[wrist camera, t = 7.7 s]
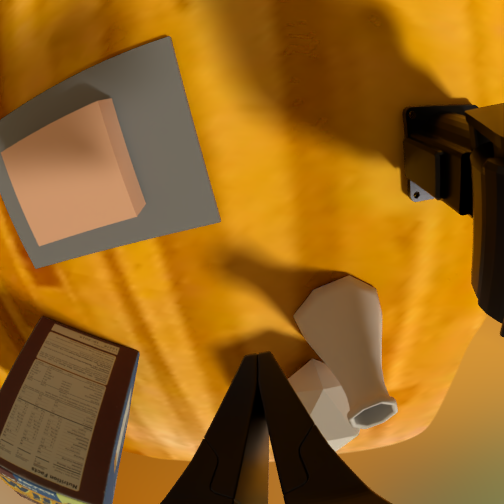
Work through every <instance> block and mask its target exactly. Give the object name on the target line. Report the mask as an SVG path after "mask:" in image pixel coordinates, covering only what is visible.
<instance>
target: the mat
mask: <svg viewBox="0 0 504 504" xmlns="http://www.w3.org/2000/svg"><path fill="white" fill-rule="evenodd" d="M110 98H112V100H113V104H114V107H115V111H116V114H117V118H118V121H119V124H120V127H121V131H122V134H123V137H124V140H125V143H126V147H127V150H128V153H129V156H130V159H131V162H132V165H133V168H134V171H135V174H136V177H137V180H138V182H139V185H140V188H141V191H142V194H143V197H144V199H145V202H146V205H145V206H144V207H143V209H142V210H141V212H140V213H139V214H138V216H137V217H134V218H131V219H127V220H123V221H120V222H116V223H113V224H110V225H106V226H103V227H99V228H96V229H93V230H89V231H86V232H83V233H80V234H76V235H73V236H70V237H67V238H64V239H61V240H57V241H54V242H51V243H48V244H45V245H42V246H39V245H38V243H37V241H36V239H35V237H34V235H33V232H32V230H31V228H30V226H29V224H28V222H27V219H26V217H25V215H24V213H23V210H22V208H21V205H20V203H19V201H18V198H17V196H16V193H15V191H14V188H13V186H12V183H11V180H10V178H9V175H8V172H7V169H6V166H5V164H4V161H3V158H2V155H1V152H3V151H4V150H6V149H7V148H9V147H10V146H12V145H14V144H15V143H17V142H19V141H20V140H22V139H24V138H25V137H27V136H29V135H31V134H32V133H34V132H36V131H38V130H39V129H41V128H43V127H45V126H47V125H49V124H50V123H52V122H54V121H56V120H58V119H60V118H62V117H64V116H66V115H68V114H70V113H72V112H74V111H76V110H78V109H81V108H83V107H85V106H87V105H89V104H91V103H94V102H96V101H99V100H104V99H110ZM0 194H1V196H2V199H3V201H4V203H5V206H6V208H7V211H8V213H9V215H10V218H11V220H12V222H13V224H14V226H15V229H16V231H17V233H18V235H19V237H20V239H21V241H22V243H23V245H24V247H25V249H26V251H27V253H28V255H29V257H30V259H31V261H32V263H33V265H34V267H35V269H37V268H40V267H44V266H47V265H51V264H55V263H58V262H62V261H66V260H69V259H73V258H77V257H80V256H84V255H88V254H92V253H95V252H99V251H103V250H107V249H111V248H115V247H119V246H123V245H127V244H131V243H135V242H139V241H143V240H147V239H151V238H155V237H159V236H163V235H167V234H171V233H176V232H180V231H184V230H188V229H193V228H197V227H201V226H206V225H210V224H214V223H219V222H221V219H220V215H219V212H218V208H217V205H216V201H215V198H214V194H213V191H212V187H211V184H210V180H209V177H208V173H207V170H206V166H205V163H204V159H203V155H202V152H201V148H200V145H199V141H198V137H197V134H196V130H195V127H194V123H193V119H192V116H191V112H190V108H189V105H188V101H187V97H186V93H185V90H184V86H183V82H182V78H181V75H180V71H179V67H178V63H177V59H176V56H175V52H174V48H173V44H172V40H171V37H170V36H168V37H165V38H162V39H159V40H156V41H154V42H151V43H148V44H145V45H142V46H140V47H137V48H135V49H132V50H129V51H127V52H124V53H122V54H120V55H117V56H115V57H112V58H110V59H108V60H105V61H103V62H101V63H99V64H97V65H94V66H92V67H90V68H88V69H86V70H84V71H82V72H80V73H78V74H76V75H74V76H72V77H70V78H68V79H66V80H64V81H63V82H61V83H59V84H57V85H55V86H53V87H52V88H50V89H48V90H46V91H45V92H43V93H41V94H40V95H38V96H36V97H35V98H33V99H31V100H30V101H28V102H26V103H25V104H23V105H22V106H20V107H19V108H17V109H16V110H14V111H13V112H11V113H10V114H8V115H7V116H5V117H4V118H2V119H1V120H0Z"/></svg>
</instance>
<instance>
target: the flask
mask: <svg viewBox="0 0 504 504" xmlns="http://www.w3.org/2000/svg"><path fill="white" fill-rule="evenodd" d="M293 317H294V319H295V321H296V323H297V325H298V327H299V329H300V331H301V333H302V335H303V337H304V339H305V340H306V341H307V342H308V344H309V345H310V346H311V347H312V349H313V350H314V351H315V352H316V353H317V354H318V356H319V357H320V358H321V359H322V360H323V361H324V363H325V364H326V365H327V367H328V368H329V369H330V370H331V372H332V373H333V374H334V376H335V377H336V378H337V380H338V381H339V382H340V384H341V386H342V388H343V390H344V392H345V394H346V396H347V400H348V403H349V407H350V411H349V412H348V413H347V418H348V421H349V423H350V425H351V427H352V428H360V429H367V428H370V427H373V426H375V425H378V424H381V423H383V422H385V421H386V420H388V419H389V418H390V417H392V416H393V415H394V414H396V413H397V412H398V410H397V403H396V400H395V399H394V398H393V397H390V396H389V394H388V392H387V389H386V387H385V384H384V379H383V373H382V311H381V307H380V303H379V299H378V294H377V290H376V288H374V287H372V286H370V285H368V284H366V283H364V282H362V281H360V280H358V279H356V278H354V277H352V276H350V275H348V276H346V277H343V278H341V279H339V280H336V281H334V282H331V283H329V284H326V285H324V286H321V287H319V288H316V289H314V290H313V291H312V292H311V294H310V295H309V296H308V297H307V299H306V300H305V301H304V303H303V304H302V305H301V306H300V308H299V309H298V310H297V311H296V313H295V314H294V315H293Z"/></svg>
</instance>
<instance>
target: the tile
mask: <svg viewBox="0 0 504 504" xmlns="http://www.w3.org/2000/svg"><path fill="white" fill-rule="evenodd" d="M1 155H2V158H3V161H4V164H5V166H6V169H7V172H8V175H9V178H10V180H11V183H12V186H13V188H14V191H15V193H16V196H17V198H18V201H19V203H20V205H21V208H22V210H23V213H24V215H25V217H26V219H27V222H28V224H29V226H30V228H31V230H32V232H33V235H34V237H35V239H36V241H37V243H38V245H39V246H42V245H45V244H48V243H51V242H54V241H57V240H61V239H64V238H67V237H70V236H73V235H76V234H80V233H83V232H86V231H89V230H93V229H96V228H99V227H103V226H106V225H110V224H113V223H116V222H120V221H123V220H127V219H131V218H134V217H137V216H138V214H139V213H140V212H141V210H142V209H143V207H144V206H145V205H146V202H145V199H144V197H143V194H142V191H141V188H140V185H139V182H138V180H137V177H136V174H135V171H134V168H133V165H132V162H131V159H130V156H129V153H128V150H127V147H126V143H125V140H124V137H123V134H122V131H121V127H120V124H119V121H118V118H117V114H116V111H115V107H114V104H113V100H112V98H110V99H104V100H99V101H96V102H94V103H91V104H89V105H87V106H85V107H83V108H81V109H78V110H76V111H74V112H72V113H70V114H68V115H66V116H64V117H62V118H60V119H58V120H56V121H54V122H52V123H50V124H49V125H47V126H45V127H43V128H41V129H39V130H38V131H36V132H34V133H32V134H31V135H29V136H27V137H25V138H24V139H22V140H20V141H19V142H17V143H15V144H14V145H12V146H10V147H9V148H7V149H6V150H4V151H3V152H1Z"/></svg>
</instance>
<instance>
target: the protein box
mask: <svg viewBox="0 0 504 504" xmlns="http://www.w3.org/2000/svg"><path fill="white" fill-rule="evenodd" d="M138 360H139V352H138V351H136V350H133V349H129V348H127V347H123V346H120V345H117V344H114V343H112V342H109V341H106V340H103V339H100V338H97V337H94V336H92V335H89V334H86V333H84V332H81V331H78V330H76V329H73V328H70V327H68V326H66V325H63V324H61V323H58V322H56V321H53V320H51V319H48V318H46V317H44V316H42V317H41V318H40V320H39V322H38V323H37V325H36V327H35V328H34V330H33V332H32V333H31V335H30V337H29V338H28V340H27V342H26V343H25V345H24V347H23V349H22V350H21V352H20V354H19V355H18V357H17V359H16V361H15V363H14V365H13V366H12V368H11V370H10V372H9V374H8V376H7V378H6V380H5V382H4V384H3V385H2V387H1V389H0V478H1V479H2V480H3V481H4V482H5V483H6V484H7V485H8V486H10V487H11V488H12V489H13V490H14V491H16V492H17V493H18V494H19V495H20V496H21V497H24V498H26V499H28V500H30V501H32V502H34V503H37V504H112V502H113V496H114V490H115V484H116V479H117V473H118V468H119V463H120V458H121V453H122V448H123V443H124V439H125V433H126V428H127V423H128V417H129V410H130V403H131V397H132V392H133V387H134V381H135V376H136V371H137V365H138Z"/></svg>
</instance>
